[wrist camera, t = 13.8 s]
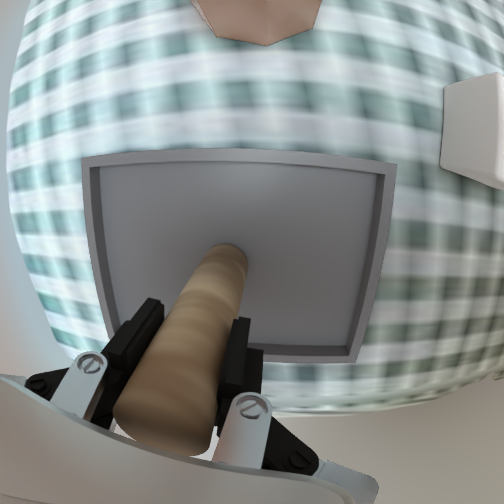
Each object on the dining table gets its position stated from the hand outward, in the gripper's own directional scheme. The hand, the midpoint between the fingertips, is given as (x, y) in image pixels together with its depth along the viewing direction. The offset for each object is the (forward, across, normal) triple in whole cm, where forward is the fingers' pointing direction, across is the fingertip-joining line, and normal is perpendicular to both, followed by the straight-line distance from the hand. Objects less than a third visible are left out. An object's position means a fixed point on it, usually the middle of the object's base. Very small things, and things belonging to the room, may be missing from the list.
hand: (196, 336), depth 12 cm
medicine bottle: (+10, -18, -14) cm, 25 cm away
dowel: (+8, 0, 0) cm, 8 cm away
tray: (+10, 0, 0) cm, 10 cm away
